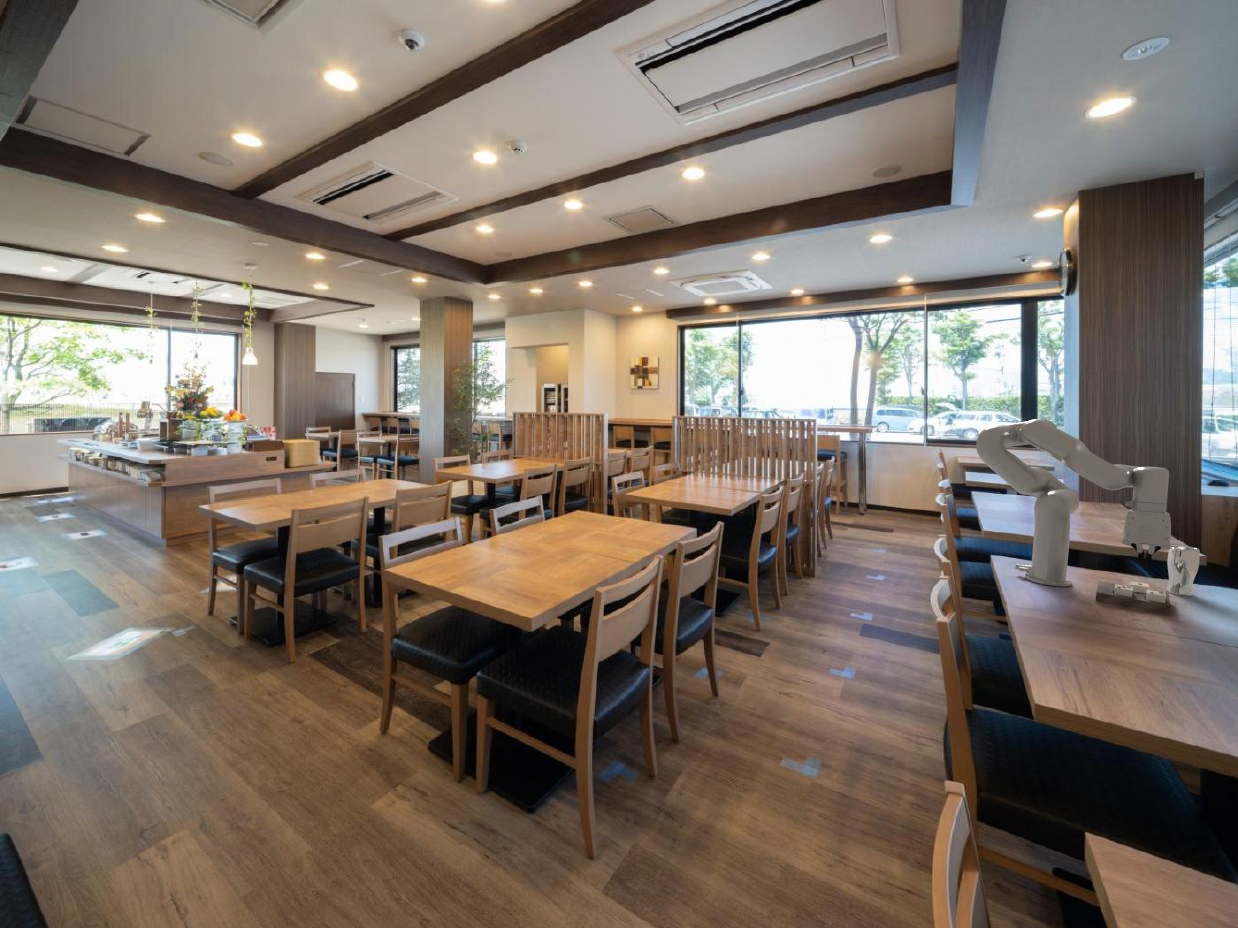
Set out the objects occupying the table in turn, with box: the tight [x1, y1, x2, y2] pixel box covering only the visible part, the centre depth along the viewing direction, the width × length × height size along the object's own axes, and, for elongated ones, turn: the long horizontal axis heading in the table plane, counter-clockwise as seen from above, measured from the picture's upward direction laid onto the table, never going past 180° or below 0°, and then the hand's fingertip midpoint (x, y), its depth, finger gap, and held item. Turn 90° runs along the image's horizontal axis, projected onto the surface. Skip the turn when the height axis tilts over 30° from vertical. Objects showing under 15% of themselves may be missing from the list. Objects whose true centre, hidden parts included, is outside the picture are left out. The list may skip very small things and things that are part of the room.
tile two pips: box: [1146, 589, 1167, 603], centre depth 157 cm, size 4×4×3 cm
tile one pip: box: [1130, 581, 1150, 593], centre depth 165 cm, size 4×4×3 cm
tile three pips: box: [1114, 583, 1133, 597], centre depth 162 cm, size 4×4×3 cm
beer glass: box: [1165, 544, 1201, 597], centre depth 169 cm, size 7×7×15 cm
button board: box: [1095, 581, 1171, 616], centre depth 163 cm, size 16×14×3 cm
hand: (1144, 565), depth 163 cm, fingers closed
